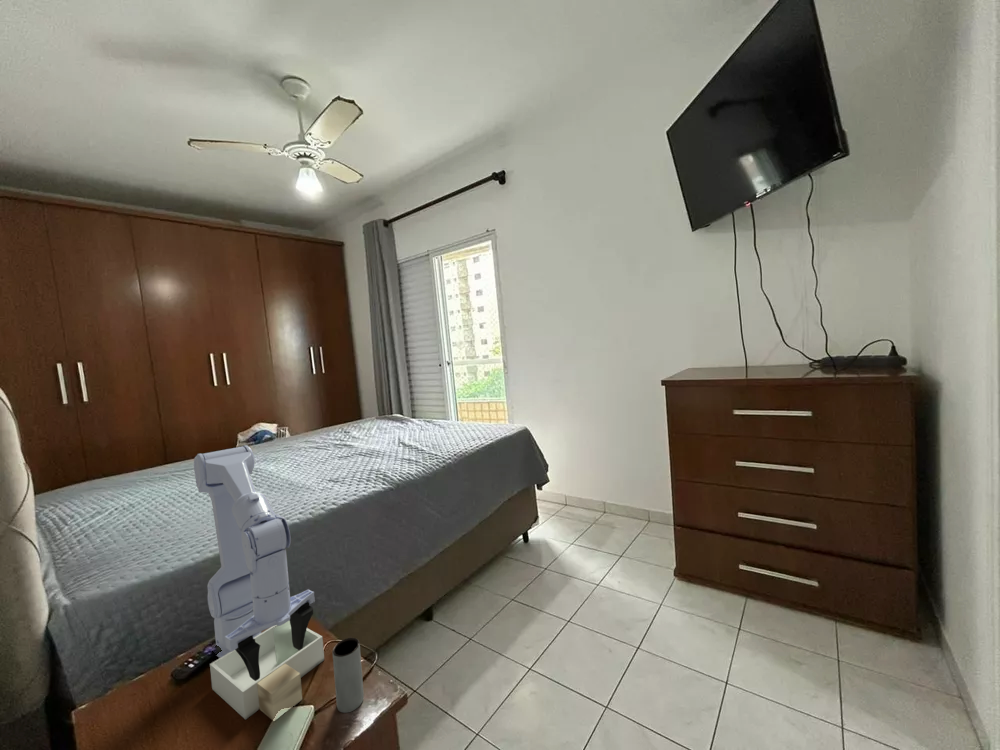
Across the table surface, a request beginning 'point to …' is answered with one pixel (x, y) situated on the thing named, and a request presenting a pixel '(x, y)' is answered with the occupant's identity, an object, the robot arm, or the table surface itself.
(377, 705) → the table surface
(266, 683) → the cube
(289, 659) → the tote
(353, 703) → the planter
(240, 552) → the robot arm
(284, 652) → the canister
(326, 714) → the table surface
